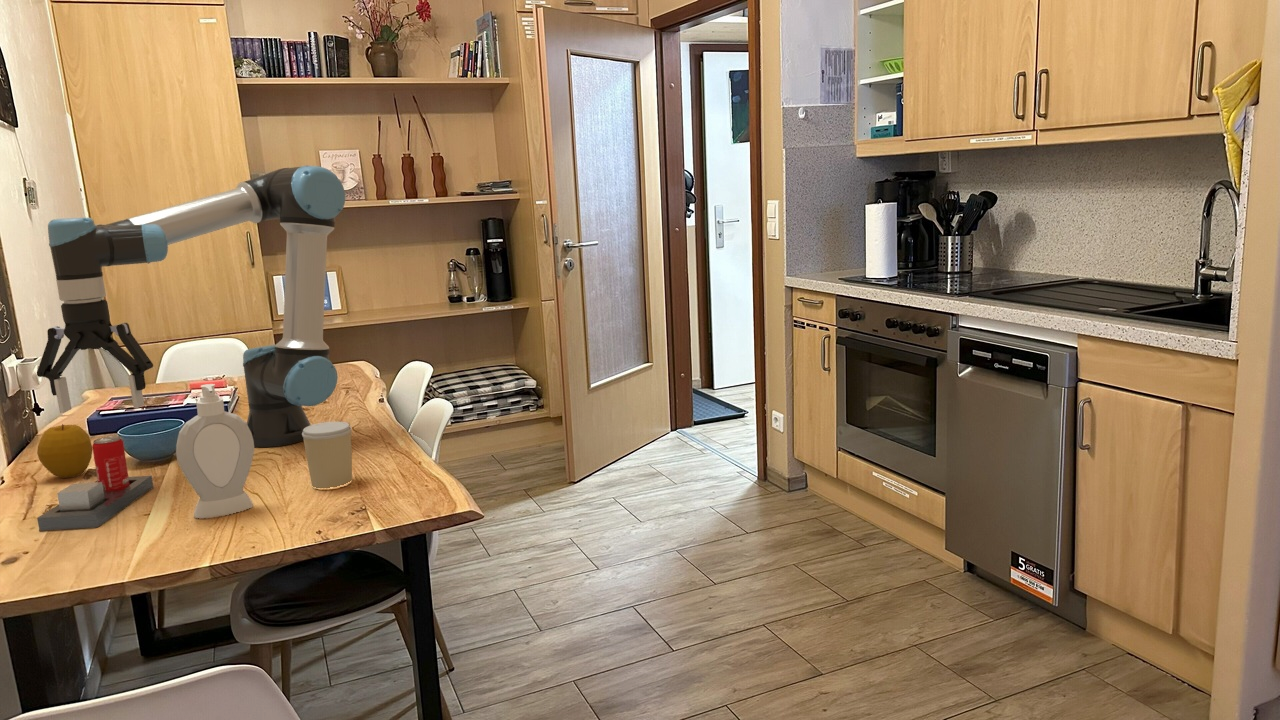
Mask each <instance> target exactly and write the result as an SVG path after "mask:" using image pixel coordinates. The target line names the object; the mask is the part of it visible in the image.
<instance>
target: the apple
mask: <svg viewBox="0 0 1280 720" xmlns="http://www.w3.org/2000/svg"><path fill="white" fill-rule="evenodd" d="M92 446H93V444H92V441H91V437H90V436H89V434H88V432H86V430H84V429H83V428H82V427H81V426H79V425H78V424H63V423H62V424H61V425H57V426H52V427H48V429H46V430H45V431H44V432H43V434H42V436H41V438H40V440H39V442H38V445H37V451H36V453H37V456H38V457H37V458H38V460H39V462H40V463H41V464H42V466H43V467H44V468H45V469H46V470H47V471H48V472H50V473H51V474H52V475H53V476H55V477H57V478H63V479H64V478H65V479H66V478H76V477H79V476H81V475H83V474H84V473H85V472H86V470H87V469H88V467H89V465H90V464H91V463H90V462H91V460H92V456H93V447H92Z"/></svg>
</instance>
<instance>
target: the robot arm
mask: <svg viewBox="0 0 1280 720" xmlns="http://www.w3.org/2000/svg"><path fill="white" fill-rule="evenodd" d="M345 191H346V190H345V188H344V186H343V183H342V181H341V180H340V178H338V176H337V175H336V174H335V173H334V172H333V171H331V170H330V169H328V168H325V167H323V166H322V167H321V166H316V165H303V166H294V167H284V168H279V169H276V170H273V171H270V172H268V173H265V174H262V175H260V176H257V177H254V178H251V179H249V180H244V181H242V182H239V183H238V184H237V186H236V188H233V189H229V190H226V191H223V192H219V193H215V194H211V195H208V196H205V197H200V198H198V199H197V198H196V199H193V200H190V201H186V202H182V203H179V204H176V205H175V204H174V205H172V206H168V207H164V208H161V209H157V210H153V211H149V212H145V213H142V214H139V215H135V216H132V217H128V218H126V219H122V220H118V221H114V222H111V223H106V224H97V225H96V224H95V220H93V218H91V217H73V218H57V219H52V220H50V221H49V222H48V224H47V235H48V241H49V243H48V246H49V247H50V252H51V257H52V262H53V267H54V268H53V269H54V272H55V273H54V274H55V279H56V286H57V292H58V299H59V301H62V302H63V303H61V305H60V308H61V309H60V310H61V313H62V320H63V322H64V324H65V325H64V327H61V326H53V327H50V328H48V329H47V330H46V332H47V341H46V344H45V348H44V351H43V354H42V357H41V359H40V362H39V366H38V368H37V371H36V376H37V377H39V378H41V377H42V378H46V379H47V380H48V381H49V385H50V390H51V395H52V396H56V398H57V403H58V411H59V414H64V413H67V412H69V411H70V410H72V405H71V404H72V403H71V400H70V399H71V398H70V393H69V388H68V387H69V386H68V382H67V377H66V376H63V374H64V371H65V370H66V368H67V367H68V366H69V364H70V363H71V361H72V360H73V359H74V357H75V355H76V354H77V353H78V352H79V350H81V351H84V350H89V349H91V350H99V349H103V351H106V352H108V353H109V354H110V355H112V356H113V358H115V359H116V360H117V361H118V362H119V363H120V364H122V365H123V366H124V367H125V368H126V369H127V370H128V371H130V373H131V374H129V375H127V376H128V381H129V382H128V383H129V387H130V388H129V389H130V395H131V400H132V405H133V409H139V408H141V407H142V406H145V403H144V402H145V401H144V394H143V390H145V389H146V387H147V384H146V379H145V372H146V371H148V370H150V369H152V368H153V367H154V363H153V361H152V360H151V359H150V358H149V357H148V355H147V353H146V352H145V351H144V350H143V348H142V347H141V345H140V344H139V342H138V341H137V339H136V338H135V337H134V335H133V334H132V331H131V327H130V324H129V323H128V322H123V323H120V324H119V323H118V324H116V325H113V324H112V323H111V321H110V318H111V317H110V310H109V304H108V301H107V300H106V299H105V297H106V296H107V293H106V288H105V286H106V285H105V280H104V273H103V267H111V266H112V267H113V266H127V265H128V266H129V265H138V264H139V265H140V264H151V263H155V262H156V263H157V262H161V261H164V260H165V259H166V257H167V256H168V252H169V247H168V246H170V245H173V244H177V243H180V242H183V241H186V240H191V239H193V238H197V237H199V236H203V235H206V234H210V233H213V232H216V231H220V230H223V229H226V228H229V227H232V226H237V225H239V224H243V223H246V222H251V223H253V224H258V223H261V222H265V221H270V220H271V221H272V220H279V224H280V226H281V227H282V228H283V229H284V231H285V232H286V248H285V249H286V250H285V272H284V275H285V276H284V296H283V297H284V299H283V300H284V302H283V324H282V325H283V327H282V339H280V340H279V341H278V342H277V343H276V344H271V345H265V346H257V347H251V348H248V349H246V350H244V352H243V353H242V357H243V359H242V360H243V361H242V367H243V371H244V372H243V373H244V378H245V386H246V395H247V402H248V410H249V411H248V415H247V420H246V423H247V425H248V427H249V429H250V431H251V433H252V437H253V441H254V448H271V447H272V448H273V447H281V446H286V445H292V444H296V443H300V442H304V439H303V437H302V432H303V429H304V428H306V427H308V426H310V425H311V423H310V420H309V419H308V417H307V415H306V412H305V410H304V407H313V406H317V405H320V404H322V403H324V402H325V401H326V400H328V399H329V397H331V396H332V394H333V393H334V391H335V389H336V387H337V384H338V371H337V369H336V366H335V365H334V364H333V363H332V361H331V360H330V346H329V345H328V344H327V343H326V342H325V341H324V321H325V320H324V319H325V297H326V296H325V295H326V293H325V292H326V275H327V273H326V272H327V269H326V268H327V249H328V248H327V247H328V236H329V235H330V234H331V233H332V232H333V231H334V230H335V226H336V225H335V223H336V217H337V216H338V215H339V214H340V213H341V212H342V210H343V209H344V208H345V203H346V192H345ZM113 334H115V335H116V336H117V337H119V340H120V341H121V342H122V344H123V345H124V347H125V348H126V349H127V351H128V352H127V351H126V350H125V349H124V348H122V347H121V346H120V345H119V343H118V342H117V341H116V340H115V339H114V338H113V337H112V335H113ZM64 337H66V338H67V339H68V340H69V341H68V343H67V344H66V346H65V348H64V351H63V352H62V354H61V355H60V356H59V358H58V359H57V361H56V362H55V360H56V357H57V354H58V352H59V349H60V345H61V342H62V339H63V338H64ZM54 363H55V364H54Z"/></svg>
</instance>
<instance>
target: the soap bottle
mask: <svg viewBox="0 0 1280 720" xmlns="http://www.w3.org/2000/svg"><path fill="white" fill-rule="evenodd" d="M215 386H216V384H215V383H206V384H201V385H200V388H201V392H202V393H201V396H199V400H198V401H196V410H197V415H195V416H193V417H192V418H191V419H189V420H188V421H186V422H185V423H184V424H183V426H182V427H181V429H180V430H179V432H178V435H177V440H176V445H175V453H176V454H175V455H176V460H177V463H178V467H179V468H180V470H181V472H182V473H183V475H184V477H185V479H186V480H187V482H188V483H189V484H190V486H191V487H192V489H193V490H194V491H195V493H196V494H197V495H198V496H199V499H198V501H197V503H196V505H195V508H194V511H193V518H195V519H198V518H199V519H201V520H204V518H206V519H213V518H212V517H215V518H220V517H219V516H222V517H226V516H225V515H227V516H230V515H229V514H231V515H234V514H233V513H235V514H237V513H236V512H239V513H241V512H240V511H242V512H244V511H243V510H245V511H247V510H246V509H248V510H249V508H250V509H251V508H253V506H254V503H253V501H252V499H251V498H250V496H249V495H248V493H247V492H246V491H244V487H245V484H246V482H247V480H248V479H247V478H248V477H249V474H250V470H251V467H252V462H253V460H254V456H255V455H254V454H255V447H254V441H253V437H252V433H251V431H250V429H249V427H248V425H247V421H245V419H243V418H242V417H240V416H239V414H235V413H232V412H228V411H225V404H224V398H221V397H220V396H219V394H216V390H215V389H216V388H215ZM199 519H198V520H199Z"/></svg>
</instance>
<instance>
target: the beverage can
mask: <svg viewBox="0 0 1280 720" xmlns="http://www.w3.org/2000/svg"><path fill="white" fill-rule="evenodd" d="M124 445H125V444H124V440H123V439H122V437H121V436H117V435H114V436H113V435H111V436H104V437H101V438H96V439H94V440H93V444H92V449H93V450H92V455H93V459H94V465H95V473H96V477H97V480H98V482H102V485H103V491H119V490H123V489H124V488H126V487H127V486H129V478H128V477H129V472H128V466H127V459H126V451H125V447H124ZM97 480H96V481H97Z"/></svg>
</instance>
